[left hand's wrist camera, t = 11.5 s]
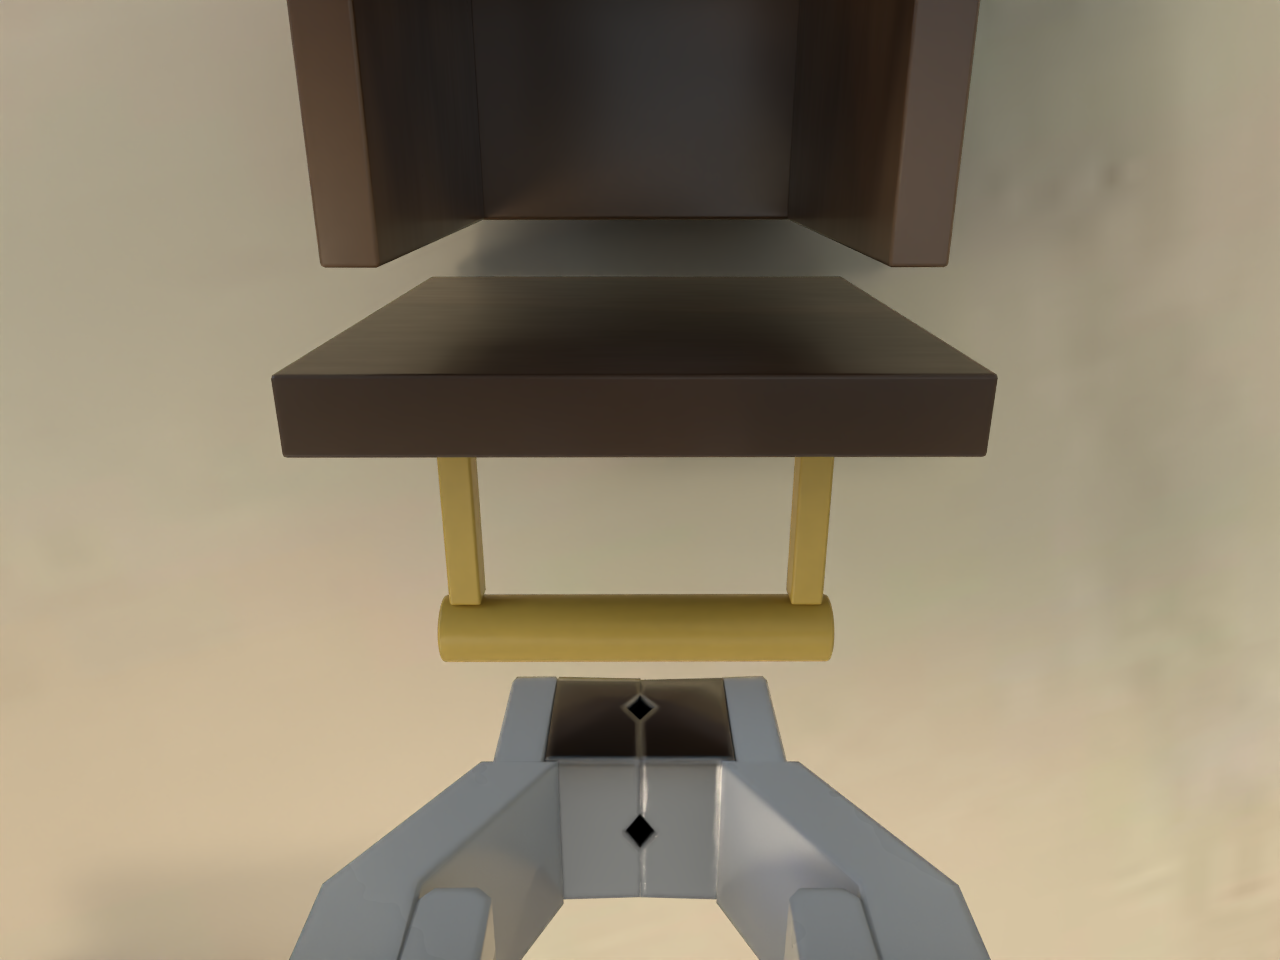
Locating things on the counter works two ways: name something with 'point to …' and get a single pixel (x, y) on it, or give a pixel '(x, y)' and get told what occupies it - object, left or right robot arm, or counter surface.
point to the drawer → (634, 306)
